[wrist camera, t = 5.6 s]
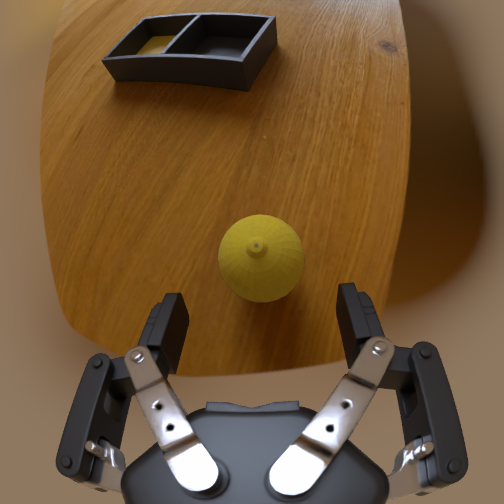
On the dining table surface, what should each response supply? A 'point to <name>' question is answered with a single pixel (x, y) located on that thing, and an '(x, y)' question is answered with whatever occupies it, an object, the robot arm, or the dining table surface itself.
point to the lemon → (261, 258)
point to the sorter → (195, 49)
